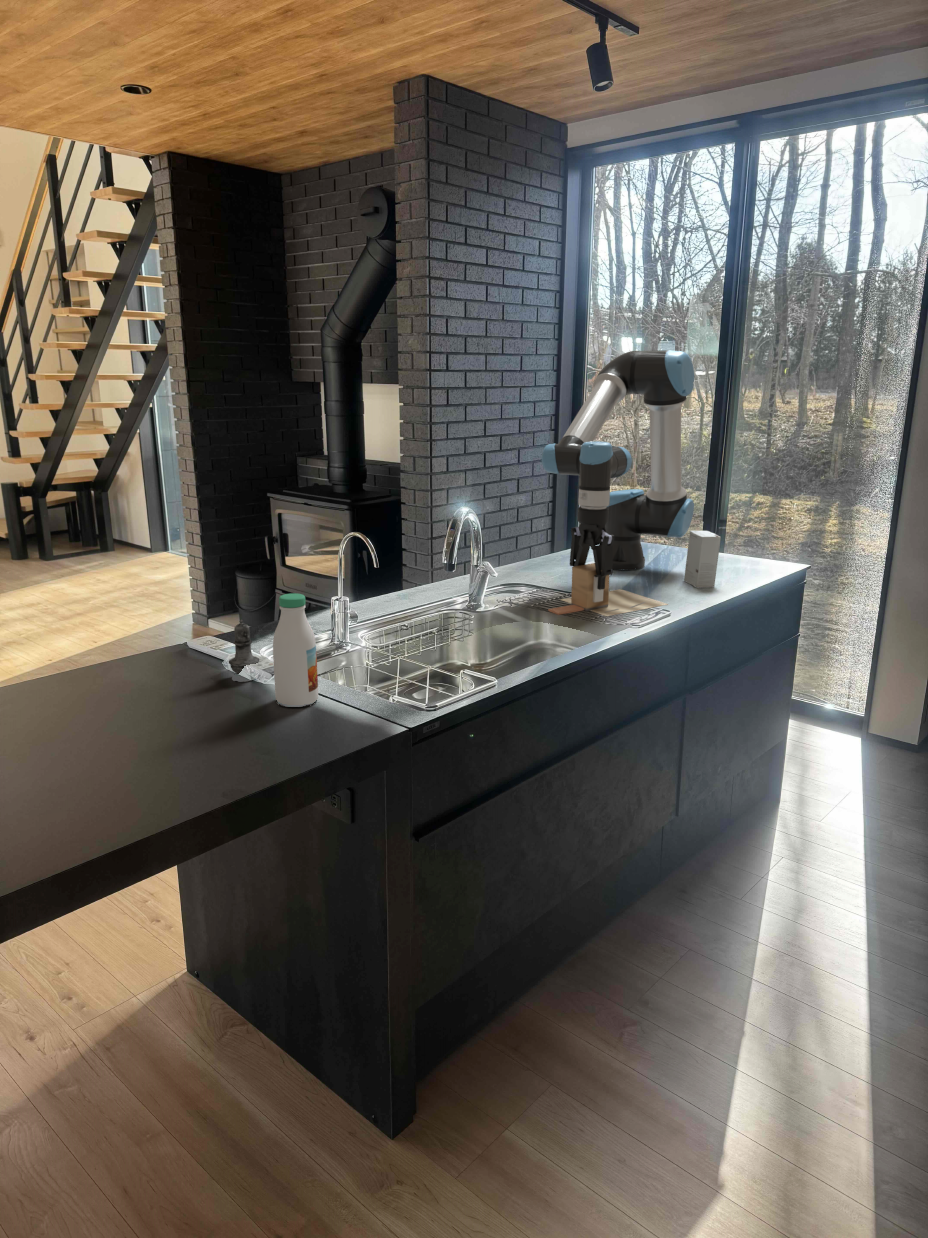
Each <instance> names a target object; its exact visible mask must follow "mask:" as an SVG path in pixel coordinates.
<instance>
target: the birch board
mask: <svg viewBox="0 0 928 1238" xmlns="http://www.w3.org/2000/svg"><path fill="white" fill-rule="evenodd" d="M559 600H560V601H563V602H566V603H568V604H570V605H571V597H567V598H561V599H559ZM668 605H670V604H669V603H665V602H663V601H659V600H657V599H653V598H649V597H647V596H644V595H642V594H641V595H640V594H636V593H634V592H632V591H628V590H624V589H621V588H618V589H614V590H613V589H611V590H609V598H608V607H603V608H598V609H594V610H589V611H590V612H593V613H596V614H598V615H602V616H603V617H610V616H616V615H620V614H626V613H631V612H636V611H641V610H646V609H653V608H657V607H662V606H668Z"/></svg>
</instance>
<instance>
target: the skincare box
mask: <svg viewBox="0 0 928 1238" xmlns="http://www.w3.org/2000/svg"><path fill="white" fill-rule="evenodd" d="M721 539H722V538H721V536H719V535H718V534H716V533H714V532H711V531H709V530H690V531H689V537H688V546H687V553H686V562H685V567H684V568H685V569H684V576H683V577H684V578H683V581H684V582H685V583H687V584H690V585H691V586H693V587H694V588H696V589H697V588H701V589H702V588H715V585H716V578H717V576H716V575H717V568H718V563H719V562H718V561H719V554H720V547H721Z"/></svg>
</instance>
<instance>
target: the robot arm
mask: <svg viewBox="0 0 928 1238" xmlns="http://www.w3.org/2000/svg"><path fill="white" fill-rule="evenodd" d="M694 368H695V367H694V364H693V361H692V358H691V357H690V355H689V354H688V353H687V352H686V351H683V350H682V351H680V350H672V349H666V350H631V351H627V352H625V353H622V354H620V355H619V356H616V357H615V358H614V359H612V360H610V361H609V362H608V363H607V364H606V365H605V366H603V368H602V369H600V371H599V373H597V375H596V377H595V379H594V380H593V383H592V384H593V385H592V386H593V387H592V390H591V392H590V393H589V395H588V397H587V398H586V400H584V402H583V404H582V406H581V408H580V409H579V411H577V413H576V415H575V416H574V418H573V420H572V422H571V424H570V425H569V427H568V428H567V430H566V432H565V433H564V435H563V436H562V438H561V439H560V441H558V443H549V444H546V445H545V446H544V448H543V451H542V454H541V464H542V468H543V469H544V472H547V473H551V474H556V475H564V476H565V475H566V476H567V475H569V476H579V479H578V480H579V481H578V504H577V505H579V507H578V508H577V519H576V520H577V522H578V523H579V526H575V527H571V529H570V533H571V544H570V554H569V566H570V567H574V566H580V565H586V563H587V559H588V555H589V552H590V549H591V550H592V556H593V560H594V562H593V563H595V568H596V575H594V586H593V602H600V601H603V591H604V589H605V578H606V576H607V575H609V576H610V575H611V576H612V574H613V570H616V571H634V570H635V571H636V570H640V569H643V568H645V566H646V564H645V562H646V558H645V556H644V549H643V545H642V541H641V538H642V537H641V536H642V535H647V536H656V537H665V538H667V539H668V538H670V539H671V538H682V537H684V536H685V535H686V533H687V532H688V530H689V529H690V526H691V523H692V520H693V517H694V513H695V512H694V511H695V503H694V501H693V499H691V498H687V497H688V491H687V489H686V488H684V487H683V486H682V405H683V404H685V402H687V396H690V395H691V394H692V392H693V389H694V386H695V385H694V382H695V371H694V370H695V369H694ZM628 395H643V404H644V405H645V406H646V407H647V408H648V410H649V413H648V414H649V444H650V445H649V448H650V452H649V453H650V485H651V486H650V488H649V489H648V490H647V491H646V493H645V491H644V489H638V488H635V489H632V488H631V489H620V490H613V491H611V479H614V478H620V477H622V476H623V475H625V474H627V473H628V472H629V471H630V469H631V467H632V463H633V458H632V455H631V452H630V451H629V449H626V448H625V447H623V446H619V445H618V446H616V445H615V446H613V445H612V444H611V442H608V441H595V440H596V438H597V436H598V435H599V433H600V431H601V430H602V428H603V426H604V425H605V423H606V421H607V420H608V418H609V417H610V415H611V413H612V411H613V410H614V408H615V407H616V405H617V403H619V402H621V401H623V400H624V398H625V397H626V396H628ZM601 570H602V571H601Z"/></svg>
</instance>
